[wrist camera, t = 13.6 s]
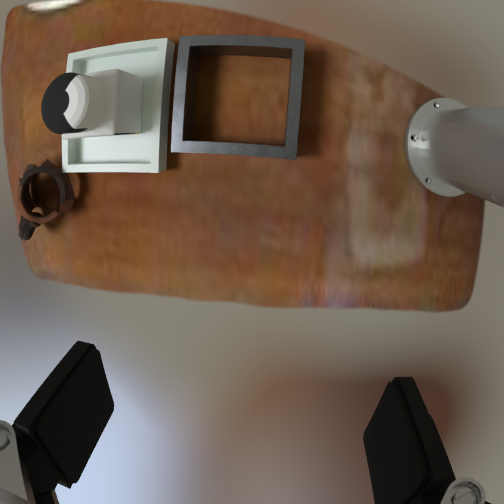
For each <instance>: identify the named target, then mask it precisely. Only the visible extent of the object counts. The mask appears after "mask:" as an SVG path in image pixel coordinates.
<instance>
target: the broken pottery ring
mask: <svg viewBox="0 0 504 504" xmlns="http://www.w3.org/2000/svg"><path fill="white" fill-rule="evenodd" d="M37 173H46V174H49V175H51V176H52V177H53V178H54V179H55V180H56V182H57V184H58V186H59V189H60V201H59V203H60V204H61V205H60V207H59V208H58V209H57V210H54V211H53V212H52V213H51V214H49V215H47V216H43V215H41V214H40V213H38V212H37V213H36V212H31V211H32V210H33V209H34V208H35V207H36V206H37V205H36V203H35V202H34V201H33V199H32V197H31V194H30V190H29V185H30V181H31V179H32V177H33V175H35V174H37ZM73 198H74V193H73V188H72V185H71V182H70V179H69V178H68V175H67V174H66V173H62V169H61V168H60V167H58V166H56V165H54V164H53V163H52V162H50V160H48V159H47V160H46V161H45V162H43V163H42V165H41V166H39V167H37V165H35V164H33V165H32V164H30V165H28V166H27V167H26V169H25V172H24V175H23V178H22V179H20V178H18V181H17V183H16V187H15V201H16V205H17V208H18V209H19V212H20V214H21V221H20V225H19V237H20V238H21V239H24V240H29V239H30V238H31V237H32V234H33V232H34V230H35V228H36V227H38V226H40V225H41V224H44V223H48V222H51V221H53V220H55V219H57V218H58V217H60V216H61V215H62V214H63V212H69V211H70V210H71V209H72V206H73V204H74V199H73Z"/></svg>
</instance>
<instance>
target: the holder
mask: <svg viewBox="0 0 504 504" xmlns="http://www.w3.org/2000/svg"><path fill="white" fill-rule="evenodd" d="M304 50H305V40H302V39H293V38H282V37H268V36H248V35H202V36H181V37H180V39H179V47H178V57H177V67H176V78H175V90H174V103H173V119H172V138H171V152H187V153H213V154H231V155H246V156H260V157H271V158H282V159H292V160H296V153H297V142H298V131H299V119H300V106H301V93H302V80H303V65H304ZM199 55H241V56H263V57H277V58H289V59H291V63H290V77H289V90H288V103H287V116H286V128H285V140H284V146H280V145H269V144H257V143H242V142H225V141H201V140H193V132H194V116H195V101H196V88H197V76H198V65H199Z"/></svg>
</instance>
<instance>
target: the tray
mask: <svg viewBox="0 0 504 504" xmlns="http://www.w3.org/2000/svg"><path fill="white" fill-rule="evenodd" d="M174 48H175V44H174V43H173V42H172V41H171V40H169V39H168V38H162V39H152V40H143V41H135V42H128V43H121V44H115V45H109V46H104V47H99V48H93V49H89V50H84V51H79V52H75V53H71V54H68V61H67V70H66V73H68V72H73V73H78V74H82V75H83V74H88V73H93V72H98V71H104V70H110V69H120V70H123V71H126V72H128V73H131V74H134V75H137V76H140V77H142V78H143V94H142V114H141V132H140V133H139V134H129V135H112V136H99V137H87V138H76V139H66V140H64V139H62V173H66V172H150V173H159V172H162V171H165V170H166V167H167V139H168V120H169V104H170V90H171V78H172V67H173V57H174Z"/></svg>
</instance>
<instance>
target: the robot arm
mask: <svg viewBox="0 0 504 504" xmlns="http://www.w3.org/2000/svg"><path fill="white" fill-rule="evenodd" d="M433 104H434V105H435V107H434V105H433ZM411 136H412V137H413V139H412V140H411ZM405 150H406V155H407V160H408V162H409V165H410V168H411V170H412V172H413V173H414V175H415V177H416V178H417V179H418V181H419V182H420V183H421V184H422V185H423V186H424V187H426V188H427V189H428V190H430V191H432V192H434V193H436V194H438V195H441V196H446V197H455V196H459V195H462V194H464V193H466V192H468V193H470V194H473V195H475V196H478V197H480V198H483V199H485V200H487V201H490V202H492V203H495V204H497V205H499V206H501V207H504V107H484V108H483V107H482V108H468V107H467V106H465V105H464V104H463V103H461V102H459V101H457V100H455V99H450V98H436V99H432V100H429V101H427V102H425V103H424V104H422V105H421V106H419V107H418V109H417V110H416V111H415V112H414V113H413V115H412V117H411V119H410V120H409V123H408V126H407V129H406V136H405ZM426 178H427V181H426V182H425V180H426ZM113 410H114V402H113V398H112V395H111V392H110V388H109V385H108V381H107V378H106V374H105V371H104V367H103V363H102V359H101V355H100V352H99V350H97V349H96V347H95V346H94V344H90V343H85V342H82V341H77V342H76V343H75V344H74V345H73V347H72V348H71V349H70V350H69V351H68V353H67V354H66V355H65V356H64V357H63V359H62V360H61V361H60V363H59V364H58V365H57V366H56V367H55V368H54V370H53V371H52V372H51V373H50V375H49V376H48V377H47V379H46V380H45V381H44V382H43V384H42V385H41V386H40V387H39V389H38V390H37V391H36V393H35V394H34V395H33V397H32V398H31V399H30V401H29V402H28V403H27V404H26V406H25V407H24V408H23V410H22V411H21V413H20V414H19V415H18V417H17V418H16V419H15V421H14V424H13V425H12V426H11V425H10V424H9V423H7V422H5V421H2V420H0V504H59V502H58V499H57V495H56V493H55V488H56V486H57V484H61V485H63V486H65V487H67V488H69V489H70V488H71V486H72V484H73V483H76V482H78V480H79V478H80V476H81V474H82V472H83V470H84V468H85V466H86V464H87V462H88V460H89V458H90V456H91V454H92V452H93V450H94V448H95V446H96V444H97V442H98V440H99V438H100V436H101V434H102V432H103V430H104V428H105V427H106V424H107V423H108V420H109V419H110V417H111V415H112V413H113ZM363 440H364V446H365V451H366V456H367V462H368V466H369V472H370V477H371V483H372V489H373V495H374V501H375V504H491V503H489V502H486V501H485V498H486V497H485V491H484V489H483V487H482V485H481V484H480V483H479V482H478V481H476V480H474V479H472V478H468V477H464V478H459V479H456V478H455V476H454V473H453V470H452V467H451V464H450V462H449V459H448V456H447V454H446V451H445V448H444V446H443V443H442V441H441V438H440V436H439V433H438V431H437V428H436V426H435V423H434V421H433V419H432V417H431V415H429V413H428V411H427V408H426V406H425V404H424V401H423V399H422V397H421V394H420V392H419V390H418V388H417V386H416V383H415V381H414V379H413V378H412V377H395V378H394V379H393V381H392V382H389V383H388V384H387V386H386V388H385V391H384V393H383V395H382V397H381V399H380V401H379V404H378V406H377V408H376V410H375V412H374V414H373V416H372V418H371V420H370V422H369V424H368V426H367V428H366V430H365V432H364V437H363Z"/></svg>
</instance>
